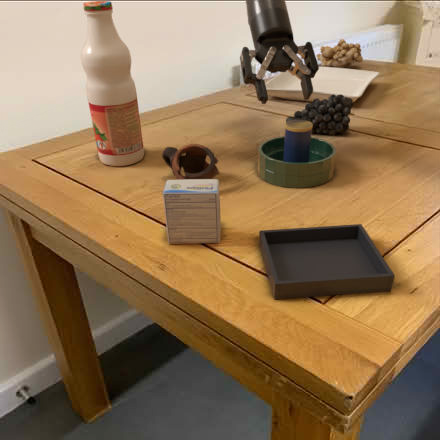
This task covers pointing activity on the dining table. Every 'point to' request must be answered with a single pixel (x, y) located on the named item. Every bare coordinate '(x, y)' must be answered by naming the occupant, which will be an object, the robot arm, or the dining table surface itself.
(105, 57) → the fruit juice
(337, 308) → the dining table surface
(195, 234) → the medicine box
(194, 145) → the pottery mug
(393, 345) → the dining table surface
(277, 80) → the square plate
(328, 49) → the mineral formation
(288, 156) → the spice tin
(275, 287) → the tray
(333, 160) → the bowl
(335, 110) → the fruit
